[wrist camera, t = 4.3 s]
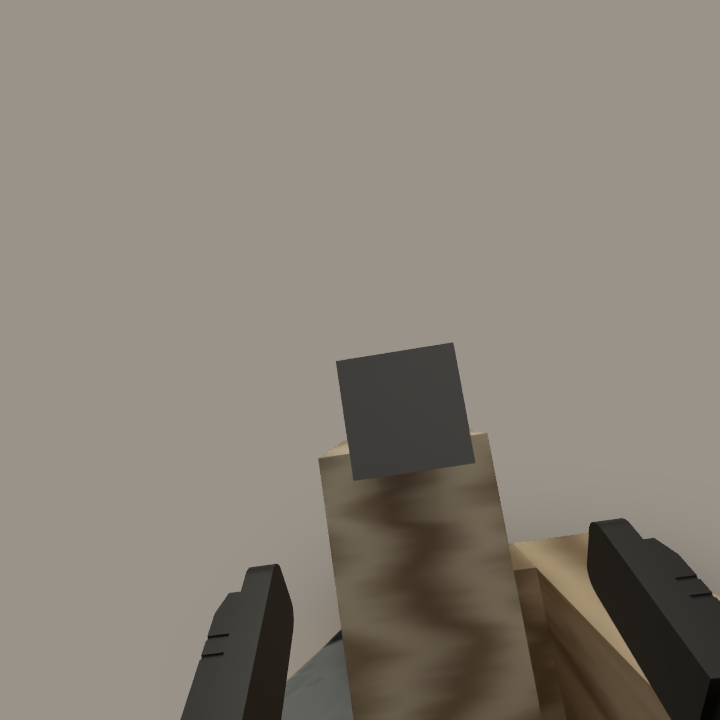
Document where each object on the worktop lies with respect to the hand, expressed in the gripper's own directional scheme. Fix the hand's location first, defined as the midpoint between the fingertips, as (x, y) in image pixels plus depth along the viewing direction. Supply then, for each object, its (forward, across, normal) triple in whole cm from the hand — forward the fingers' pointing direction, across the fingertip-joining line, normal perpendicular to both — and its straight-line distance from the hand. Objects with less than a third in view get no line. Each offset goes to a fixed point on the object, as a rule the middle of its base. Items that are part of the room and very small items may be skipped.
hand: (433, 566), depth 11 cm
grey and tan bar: (+14, 0, +6) cm, 16 cm away
